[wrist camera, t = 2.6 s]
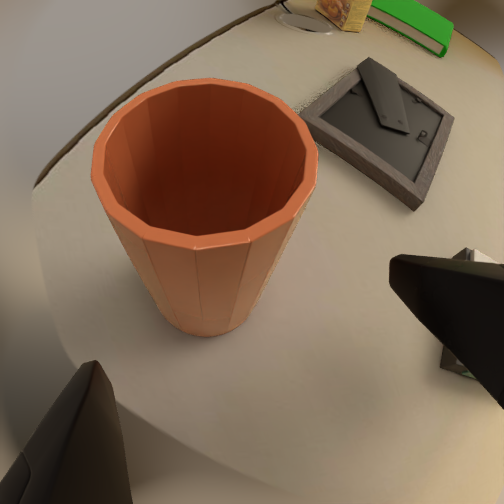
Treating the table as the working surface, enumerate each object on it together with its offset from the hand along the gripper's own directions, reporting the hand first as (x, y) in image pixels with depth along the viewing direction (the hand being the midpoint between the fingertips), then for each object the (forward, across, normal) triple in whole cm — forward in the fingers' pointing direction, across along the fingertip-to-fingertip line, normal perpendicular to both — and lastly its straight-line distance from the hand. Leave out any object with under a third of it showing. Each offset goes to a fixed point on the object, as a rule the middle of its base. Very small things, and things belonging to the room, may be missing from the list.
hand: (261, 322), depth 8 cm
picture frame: (+20, -23, -3) cm, 30 cm away
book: (+43, -57, -26) cm, 76 cm away
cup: (+12, 0, +5) cm, 13 cm away
